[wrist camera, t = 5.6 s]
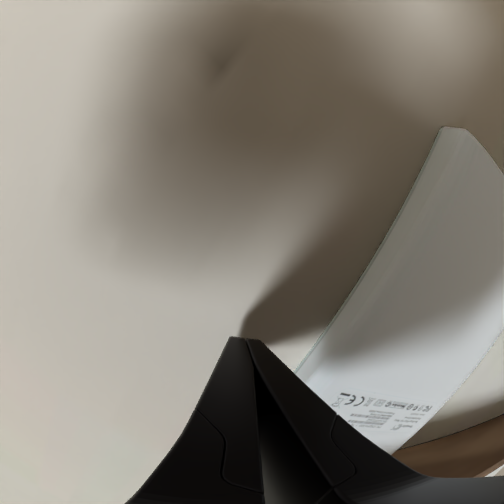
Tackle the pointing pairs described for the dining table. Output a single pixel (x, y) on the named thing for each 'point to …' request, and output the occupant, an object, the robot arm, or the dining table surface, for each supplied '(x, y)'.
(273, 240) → the dining table surface
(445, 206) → the external hard drive
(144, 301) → the dining table surface
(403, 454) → the rail
